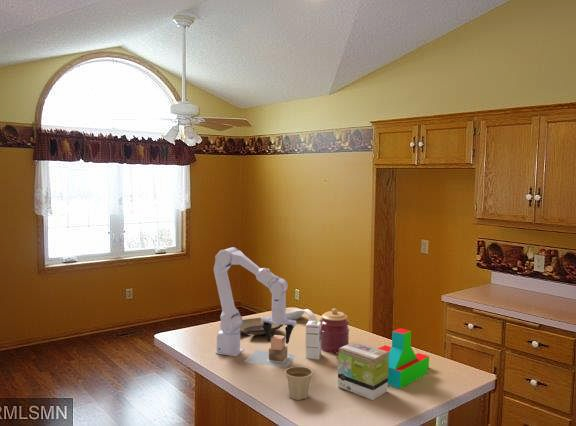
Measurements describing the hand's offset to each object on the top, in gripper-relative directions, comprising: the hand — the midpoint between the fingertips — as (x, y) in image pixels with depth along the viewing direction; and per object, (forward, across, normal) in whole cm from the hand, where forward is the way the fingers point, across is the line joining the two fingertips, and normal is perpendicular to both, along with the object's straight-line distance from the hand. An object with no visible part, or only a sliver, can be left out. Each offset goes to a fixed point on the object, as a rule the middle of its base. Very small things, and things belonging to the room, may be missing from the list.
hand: (278, 341), depth 202 cm
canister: (+7, +19, +20) cm, 29 cm away
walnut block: (+7, 0, 0) cm, 7 cm away
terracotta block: (+2, 0, 0) cm, 2 cm away
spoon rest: (+8, -6, +54) cm, 55 cm away
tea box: (+8, +37, -18) cm, 42 cm away
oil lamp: (+8, -22, +30) cm, 38 cm away
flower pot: (+7, +17, -30) cm, 35 cm away
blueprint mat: (+7, -3, -1) cm, 8 cm away
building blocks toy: (+8, +47, +3) cm, 48 cm away
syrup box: (+7, +13, +7) cm, 17 cm away
